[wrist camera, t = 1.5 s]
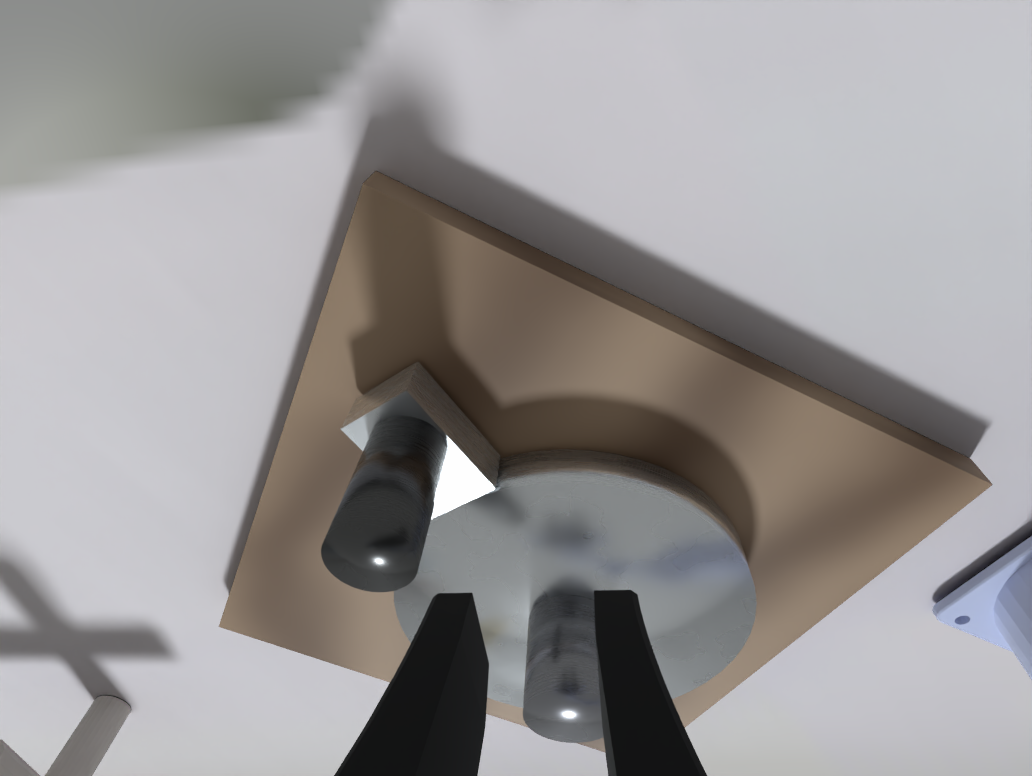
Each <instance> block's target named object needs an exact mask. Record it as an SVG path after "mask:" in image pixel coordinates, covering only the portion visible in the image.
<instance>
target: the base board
mask: <svg viewBox="0 0 1032 776" xmlns="http://www.w3.org/2000/svg"><path fill="white" fill-rule="evenodd" d="M416 362H419V363H420V364H421V365H422V366H423V367H424V369H425V370H426V371H427V372H428V373H429V374H430V375H431V377H432V378H433V379H434V380H435V381H436V382H437V383H438V385H439V386H440V387H441V388H442V389H443V390H444V391H445V393H446V394H447V395H448V396H449V397H450V398H451V399H452V401H453V402H454V403H455V404H456V405H457V406H458V407H459V409H460V410H461V411H462V412H463V413H464V414H465V416H466V417H467V418H468V419H469V420H470V421H471V422H472V424H473V425H474V426H475V427H476V428H477V429H478V430H479V432H480V433H481V434H482V435H483V436H484V437H485V438H486V440H487V441H488V442H489V443H490V444H491V445H492V446H493V448H494V449H495V450H496V451H497V452H498V453H499V455H500V459H502V458H506V457H509V456H513V455H518V454H523V453H529V452H535V451H544V450H558V449H576V450H594V451H601V452H609V453H616V454H620V455H624V456H628V457H632V458H636V459H640V460H643V461H646V462H649V463H651V464H654V465H657V466H660V467H662V468H665V469H667V470H669V471H671V472H673V473H675V474H677V475H679V476H681V477H683V478H684V479H686V480H687V481H689V482H690V483H692V484H693V485H695V486H696V487H698V488H699V489H701V490H702V491H703V492H705V493H706V494H707V495H708V496H709V497H710V498H711V499H712V500H713V501H715V502H716V503H717V504H718V505H719V507H720V508H721V509H722V510H723V512H724V513H725V514H726V515H727V516H728V518H729V519H730V521H731V522H732V524H733V526H734V528H735V530H736V531H737V533H738V535H739V538H740V541H741V544H742V547H743V550H744V553H745V557H746V560H747V563H748V566H749V570H750V573H751V576H752V579H753V583H754V586H755V592H756V601H757V605H756V615H755V621H754V624H753V627H752V630H751V633H750V635H749V637H748V639H747V641H746V643H745V645H744V646H743V648H742V649H741V651H740V652H739V653H738V654H737V656H736V657H735V658H734V660H733V661H732V662H731V663H730V664H728V665H727V666H726V667H725V668H724V669H723V670H722V671H721V672H720V673H718V674H717V675H716V676H714V677H713V678H712V679H710V680H709V681H707V682H706V683H704V684H702V685H701V686H699V687H697V688H695V689H694V690H692V691H690V692H688V693H685V694H683V695H681V696H678V697H676V698H674V699H672V700H673V703H674V705H675V707H676V710H677V712H678V714H679V716H680V719H681V721H682V723H683V726H684V728H685V727H686V726H687V725H689V724H690V723H691V722H692V721H694V720H695V719H696V718H697V717H699V716H700V715H701V714H703V713H704V712H705V711H706V710H708V709H709V708H710V707H711V706H713V705H714V704H715V703H716V702H718V701H719V700H720V699H722V698H723V697H724V696H725V695H727V694H728V693H729V692H730V691H732V690H733V689H734V688H735V687H737V686H738V685H739V684H741V683H742V682H743V681H744V680H746V679H747V678H748V677H749V676H751V675H752V674H753V673H754V672H756V671H757V670H758V669H760V668H761V667H762V666H763V665H765V664H766V663H767V662H768V661H770V660H771V659H772V658H773V657H775V656H776V655H777V654H779V653H780V652H781V651H782V650H784V649H785V648H786V647H787V646H789V645H790V644H791V643H793V642H794V641H795V640H796V639H798V638H799V637H800V636H801V635H803V634H804V633H805V632H806V631H808V630H809V629H810V628H812V627H813V626H814V625H815V624H817V623H818V622H819V621H820V620H822V619H823V618H824V617H825V616H827V615H828V614H829V613H831V612H832V611H833V610H834V609H836V608H837V607H838V606H839V605H841V604H842V603H843V602H844V601H846V600H847V599H848V598H850V597H851V596H852V595H853V594H855V593H856V592H857V591H858V590H860V589H861V588H862V587H864V586H865V585H866V584H867V583H869V582H870V581H871V580H872V579H874V578H875V577H876V576H877V575H879V574H880V573H881V572H883V571H884V570H885V569H886V568H888V567H889V566H890V565H891V564H893V563H894V562H895V561H896V560H898V559H899V558H900V557H902V556H903V555H904V554H905V553H907V552H908V551H909V550H910V549H912V548H913V547H914V546H915V545H917V544H918V543H919V542H921V541H922V540H923V539H924V538H926V537H927V536H928V535H929V534H931V533H932V532H933V531H934V530H936V529H937V528H938V527H940V526H941V525H942V524H943V523H945V522H946V521H947V520H948V519H950V518H951V517H952V516H954V515H955V514H956V513H957V512H959V511H960V510H961V509H962V508H964V507H965V506H966V505H967V504H969V503H970V502H971V501H973V500H974V499H975V498H976V497H978V496H979V495H980V494H981V493H983V492H984V491H985V490H986V489H988V488H989V487H990V486H992V483H991V482H990V481H989V480H988V479H987V477H986V476H985V475H984V474H983V473H982V472H981V470H980V469H979V468H978V467H977V466H976V464H975V463H974V462H973V461H972V460H971V459H970V458H968V457H966V456H964V455H962V454H960V453H958V452H955V451H953V450H951V449H949V448H947V447H945V446H943V445H941V444H939V443H937V442H935V441H933V440H931V439H929V438H927V437H924V436H922V435H920V434H918V433H916V432H914V431H912V430H910V429H908V428H906V427H904V426H902V425H900V424H898V423H896V422H894V421H891V420H889V419H887V418H885V417H883V416H881V415H879V414H877V413H875V412H873V411H871V410H869V409H867V408H865V407H863V406H860V405H858V404H856V403H854V402H852V401H850V400H848V399H846V398H844V397H842V396H840V395H838V394H836V393H834V392H832V391H829V390H827V389H825V388H823V387H821V386H819V385H817V384H815V383H813V382H811V381H809V380H807V379H805V378H803V377H801V376H799V375H796V374H794V373H792V372H790V371H788V370H786V369H784V368H782V367H780V366H778V365H776V364H774V363H772V362H770V361H768V360H765V359H763V358H761V357H759V356H757V355H755V354H753V353H751V352H749V351H747V350H745V349H743V348H741V347H739V346H737V345H734V344H732V343H730V342H728V341H726V340H724V339H722V338H720V337H718V336H716V335H714V334H712V333H710V332H708V331H706V330H704V329H701V328H699V327H697V326H695V325H693V324H691V323H689V322H687V321H685V320H683V319H681V318H679V317H677V316H675V315H673V314H670V313H668V312H666V311H664V310H662V309H660V308H658V307H656V306H654V305H652V304H650V303H648V302H646V301H644V300H642V299H639V298H637V297H635V296H633V295H631V294H629V293H627V292H625V291H623V290H621V289H619V288H617V287H615V286H613V285H611V284H609V283H606V282H604V281H602V280H600V279H598V278H596V277H594V276H592V275H590V274H588V273H586V272H584V271H582V270H580V269H578V268H575V267H573V266H571V265H569V264H567V263H565V262H563V261H561V260H559V259H557V258H555V257H553V256H551V255H549V254H547V253H544V252H542V251H540V250H538V249H536V248H534V247H532V246H530V245H528V244H526V243H524V242H522V241H520V240H518V239H516V238H514V237H511V236H509V235H507V234H505V233H503V232H501V231H499V230H497V229H495V228H493V227H491V226H489V225H487V224H485V223H483V222H480V221H478V220H476V219H474V218H472V217H470V216H468V215H466V214H464V213H462V212H460V211H458V210H456V209H454V208H452V207H449V206H447V205H445V204H443V203H441V202H439V201H437V200H435V199H433V198H431V197H429V196H427V195H425V194H423V193H421V192H419V191H416V190H414V189H412V188H410V187H408V186H406V185H404V184H402V183H400V182H398V181H396V180H394V179H392V178H390V177H388V176H385V175H383V174H381V173H379V172H377V171H375V172H374V173H373V174H372V175H371V176H370V177H369V178H368V179H367V180H366V181H365V182H364V183H363V185H362V188H361V191H360V194H359V197H358V200H357V203H356V206H355V209H354V212H353V215H352V218H351V222H350V225H349V228H348V231H347V234H346V237H345V240H344V243H343V246H342V249H341V252H340V255H339V258H338V262H337V265H336V268H335V271H334V274H333V277H332V280H331V283H330V286H329V289H328V292H327V295H326V298H325V302H324V305H323V308H322V311H321V314H320V317H319V320H318V323H317V326H316V329H315V332H314V335H313V338H312V342H311V345H310V348H309V351H308V354H307V357H306V360H305V363H304V366H303V369H302V372H301V375H300V378H299V382H298V385H297V388H296V391H295V394H294V397H293V400H292V403H291V406H290V409H289V412H288V415H287V418H286V422H285V425H284V428H283V431H282V434H281V437H280V440H279V443H278V446H277V449H276V452H275V455H274V458H273V462H272V465H271V468H270V471H269V474H268V477H267V480H266V483H265V486H264V489H263V492H262V495H261V498H260V501H259V505H258V508H257V511H256V514H255V517H254V520H253V523H252V526H251V529H250V532H249V535H248V538H247V541H246V545H245V548H244V551H243V554H242V557H241V560H240V563H239V566H238V569H237V572H236V575H235V578H234V581H233V585H232V588H231V591H230V594H229V597H228V600H227V603H226V606H225V609H224V612H223V615H222V618H221V621H220V625H219V627H221V628H224V629H228V630H231V631H234V632H237V633H240V634H243V635H246V636H249V637H252V638H255V639H258V640H261V641H264V642H268V643H271V644H274V645H277V646H280V647H283V648H286V649H289V650H292V651H295V652H298V653H301V654H304V655H307V656H311V657H314V658H317V659H320V660H323V661H326V662H329V663H332V664H335V665H338V666H341V667H344V668H347V669H351V670H354V671H357V672H360V673H363V674H366V675H369V676H372V677H375V678H378V679H381V680H384V681H387V682H391V680H392V678H393V677H394V675H395V673H396V671H397V669H398V667H399V665H400V663H401V662H402V660H403V658H404V656H405V654H406V652H407V650H408V648H409V646H410V644H411V643H410V641H409V640H408V638H407V636H406V635H405V633H404V631H403V630H402V628H401V625H400V622H399V620H398V617H397V615H396V609H395V604H394V591H391V592H369V591H364V590H360V589H357V588H354V587H351V586H349V585H347V584H345V583H343V582H342V581H340V580H339V579H337V578H336V577H335V576H334V575H332V574H331V573H330V571H329V570H328V569H327V568H326V566H325V565H324V562H323V560H322V557H321V547H322V544H323V541H324V539H325V537H326V534H327V532H328V530H329V528H330V525H331V523H332V521H333V518H334V516H335V514H336V512H337V509H338V507H339V505H340V503H341V500H342V498H343V496H344V493H345V491H346V489H347V487H348V484H349V482H350V480H351V477H352V475H353V473H354V471H355V468H356V466H357V464H358V462H359V459H360V457H361V455H362V452H363V451H362V450H361V449H360V448H359V447H358V446H357V445H356V444H355V443H354V442H353V441H352V440H351V439H350V438H349V437H348V436H347V435H346V434H345V433H344V432H343V431H342V430H341V427H342V425H343V423H344V421H345V419H346V417H347V415H348V413H349V411H350V410H351V408H352V406H353V404H354V402H355V400H356V398H358V397H359V396H361V395H363V394H364V393H366V392H368V391H369V390H371V389H373V388H374V387H376V386H378V385H379V384H381V383H383V382H384V381H386V380H388V379H389V378H391V377H393V376H394V375H396V374H398V373H399V372H401V371H403V370H404V369H406V368H408V367H409V366H411V365H413V364H414V363H416ZM486 714H489V715H492V716H495V717H498V718H501V719H504V720H507V721H510V722H513V723H517V724H520V725H523V726H526V727H528V726H527V725H526V723H525V721H524V719H523V708H521V707H516V706H512V705H509V704H506V703H502V702H499V701H496V700H493V699H490V698H488V697H487V707H486ZM578 744H581V745H584V746H587V747H590V748H593V749H596V750H600V751H603V752H605V745H604V737H603V738H601V739H598V740H594V741H589V742H581V743H578Z"/></svg>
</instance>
